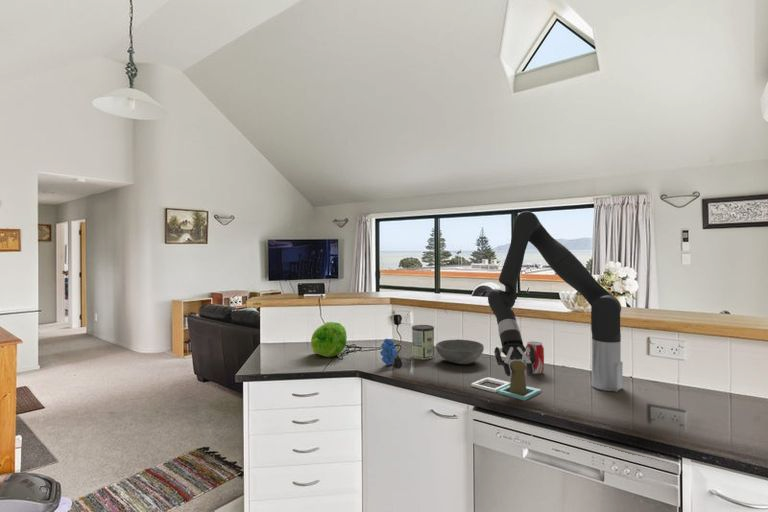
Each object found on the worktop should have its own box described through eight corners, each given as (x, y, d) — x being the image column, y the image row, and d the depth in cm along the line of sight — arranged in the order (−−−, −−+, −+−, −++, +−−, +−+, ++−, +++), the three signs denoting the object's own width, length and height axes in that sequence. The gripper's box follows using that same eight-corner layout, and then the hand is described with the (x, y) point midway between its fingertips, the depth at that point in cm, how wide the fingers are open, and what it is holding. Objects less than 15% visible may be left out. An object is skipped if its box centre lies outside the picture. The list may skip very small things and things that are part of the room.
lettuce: (333, 352, 215) (314, 327, 214) (360, 335, 205) (340, 310, 204) (316, 371, 200) (295, 345, 199) (343, 355, 190) (321, 327, 189)
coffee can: (418, 352, 207) (418, 324, 207) (437, 355, 201) (437, 325, 201) (408, 357, 198) (407, 327, 198) (427, 360, 193) (427, 329, 192)
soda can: (545, 375, 169) (545, 345, 169) (526, 374, 171) (526, 344, 170) (542, 370, 176) (542, 341, 176) (524, 369, 178) (524, 340, 177)
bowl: (493, 361, 190) (493, 344, 190) (467, 371, 175) (467, 352, 175) (453, 354, 205) (453, 337, 204) (426, 362, 189) (426, 344, 189)
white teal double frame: (541, 391, 150) (541, 389, 150) (524, 400, 141) (524, 397, 141) (488, 379, 165) (488, 376, 165) (471, 386, 156) (471, 383, 156)
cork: (518, 397, 144) (517, 365, 144) (505, 391, 150) (505, 360, 150) (531, 394, 147) (530, 362, 147) (518, 388, 153) (517, 358, 152)
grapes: (391, 370, 177) (391, 341, 177) (376, 368, 181) (376, 339, 180) (403, 363, 188) (402, 336, 188) (389, 361, 191) (389, 334, 191)
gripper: (492, 328, 155) (501, 369, 144) (531, 328, 155) (543, 369, 144) (488, 339, 161) (496, 380, 149) (526, 339, 161) (537, 380, 149)
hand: (519, 375), depth 147 cm, fingers open, 6 cm apart
